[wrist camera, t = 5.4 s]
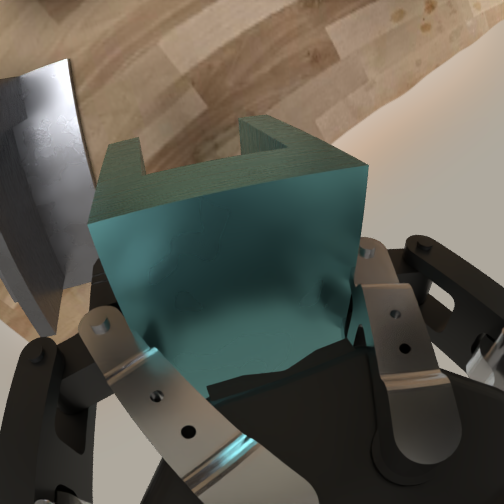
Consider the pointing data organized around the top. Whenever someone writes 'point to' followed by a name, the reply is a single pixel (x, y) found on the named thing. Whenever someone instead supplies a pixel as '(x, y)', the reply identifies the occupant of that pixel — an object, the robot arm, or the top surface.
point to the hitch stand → (44, 193)
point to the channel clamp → (233, 250)
